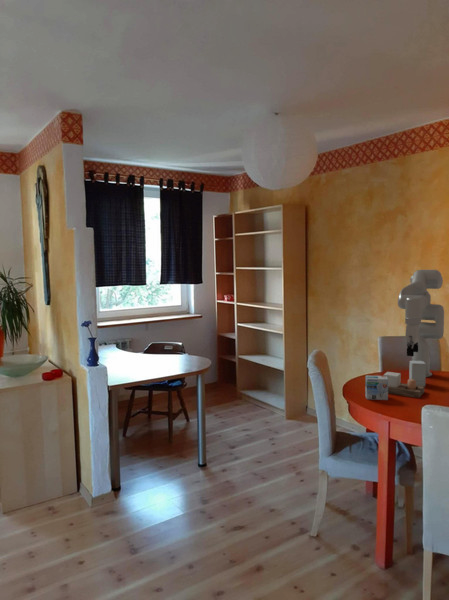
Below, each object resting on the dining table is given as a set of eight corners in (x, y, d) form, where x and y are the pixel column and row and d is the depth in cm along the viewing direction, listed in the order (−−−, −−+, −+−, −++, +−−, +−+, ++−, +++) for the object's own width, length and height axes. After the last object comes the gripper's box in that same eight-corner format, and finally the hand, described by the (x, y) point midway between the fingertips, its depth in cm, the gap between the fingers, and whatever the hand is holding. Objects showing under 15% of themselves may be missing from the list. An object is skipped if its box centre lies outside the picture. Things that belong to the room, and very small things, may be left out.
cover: (387, 382, 249) (387, 371, 249) (400, 384, 245) (400, 373, 245) (383, 385, 244) (383, 374, 243) (397, 387, 240) (397, 376, 239)
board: (385, 386, 253) (385, 381, 252) (424, 392, 241) (424, 386, 241) (378, 391, 243) (379, 386, 243) (419, 398, 231) (419, 392, 231)
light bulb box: (366, 399, 231) (366, 378, 230) (364, 395, 238) (364, 375, 237) (388, 400, 229) (388, 379, 228) (386, 396, 236) (386, 375, 235)
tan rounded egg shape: (408, 391, 242) (408, 378, 241) (416, 393, 240) (416, 379, 239) (406, 393, 239) (406, 380, 238) (414, 395, 237) (414, 381, 236)
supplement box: (425, 386, 251) (426, 363, 250) (411, 385, 253) (411, 363, 251) (422, 382, 258) (423, 360, 257) (408, 382, 260) (409, 360, 258)
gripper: (409, 318, 245) (409, 349, 247) (400, 323, 231) (400, 356, 233) (424, 319, 240) (424, 351, 242) (416, 324, 226) (416, 358, 228)
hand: (412, 353), depth 238 cm, fingers open, 9 cm apart
